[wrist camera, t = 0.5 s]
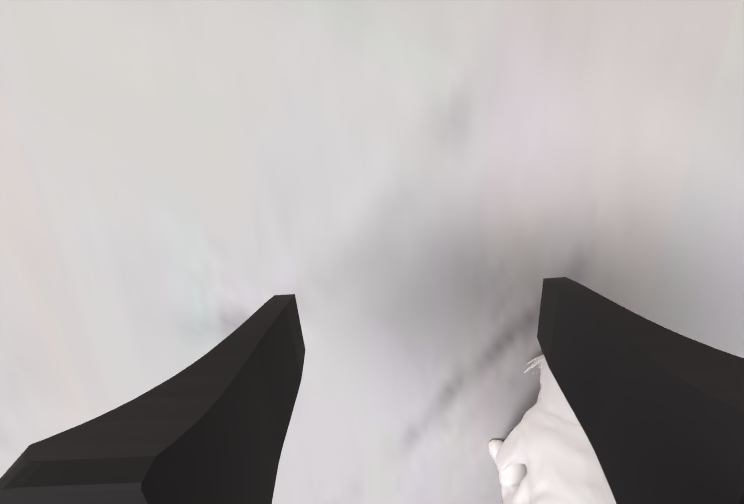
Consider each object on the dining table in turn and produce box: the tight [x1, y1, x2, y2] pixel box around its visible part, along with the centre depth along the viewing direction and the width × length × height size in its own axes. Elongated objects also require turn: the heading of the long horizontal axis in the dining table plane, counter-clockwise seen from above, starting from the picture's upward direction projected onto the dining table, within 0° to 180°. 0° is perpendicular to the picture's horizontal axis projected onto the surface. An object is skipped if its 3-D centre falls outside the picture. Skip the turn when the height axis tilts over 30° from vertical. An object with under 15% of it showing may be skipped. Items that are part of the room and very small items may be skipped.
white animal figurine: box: [489, 354, 616, 504], centre depth 22 cm, size 6×8×12 cm
